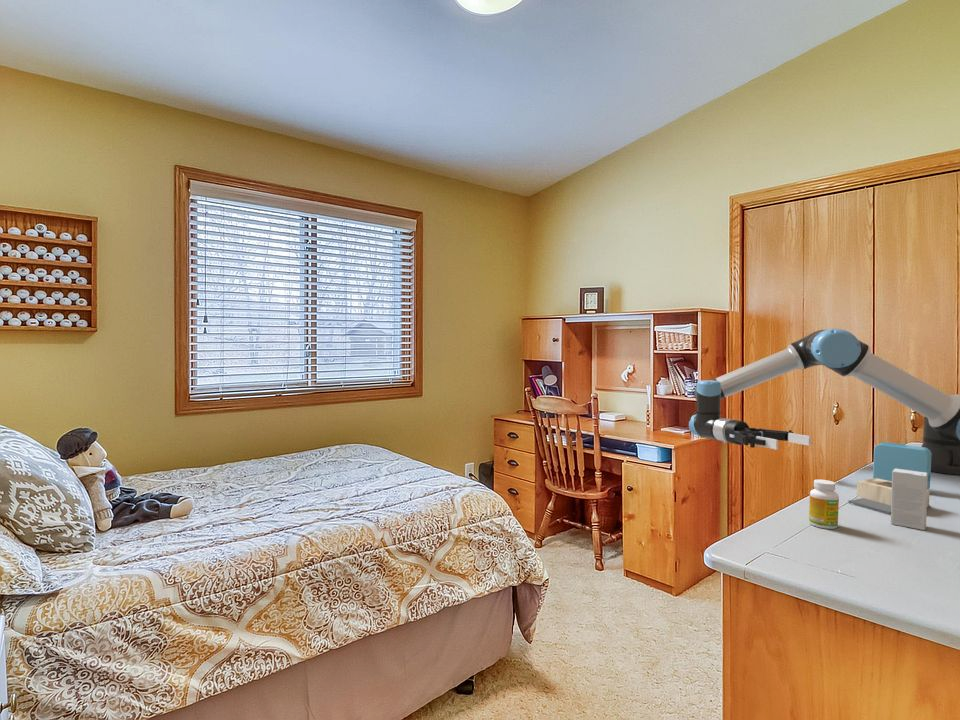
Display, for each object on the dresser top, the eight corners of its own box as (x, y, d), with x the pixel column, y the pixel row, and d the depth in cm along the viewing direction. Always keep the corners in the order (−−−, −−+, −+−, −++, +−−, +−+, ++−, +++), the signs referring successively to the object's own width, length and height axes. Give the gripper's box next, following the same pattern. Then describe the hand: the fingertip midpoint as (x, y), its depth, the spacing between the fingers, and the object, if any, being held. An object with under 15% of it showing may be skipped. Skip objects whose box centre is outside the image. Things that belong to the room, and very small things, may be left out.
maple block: (876, 477, 142) (929, 489, 131) (876, 493, 142) (928, 506, 131) (857, 480, 139) (909, 493, 128) (856, 496, 139) (909, 510, 128)
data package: (929, 491, 147) (932, 448, 146) (926, 494, 144) (928, 450, 143) (876, 482, 156) (878, 441, 155) (872, 485, 153) (874, 443, 152)
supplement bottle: (828, 531, 115) (830, 486, 115) (803, 523, 120) (805, 480, 120) (842, 527, 118) (844, 483, 117) (817, 519, 123) (819, 477, 122)
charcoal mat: (887, 496, 142) (887, 494, 142) (929, 506, 133) (929, 504, 133) (848, 503, 135) (848, 500, 135) (889, 514, 127) (889, 512, 127)
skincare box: (926, 526, 119) (928, 472, 119) (924, 531, 116) (927, 476, 115) (891, 519, 123) (894, 467, 123) (889, 524, 120) (891, 471, 120)
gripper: (759, 440, 178) (822, 452, 158) (702, 446, 168) (762, 459, 149) (759, 417, 178) (823, 426, 158) (702, 422, 168) (763, 432, 148)
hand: (793, 442), depth 153 cm, fingers open, 13 cm apart
